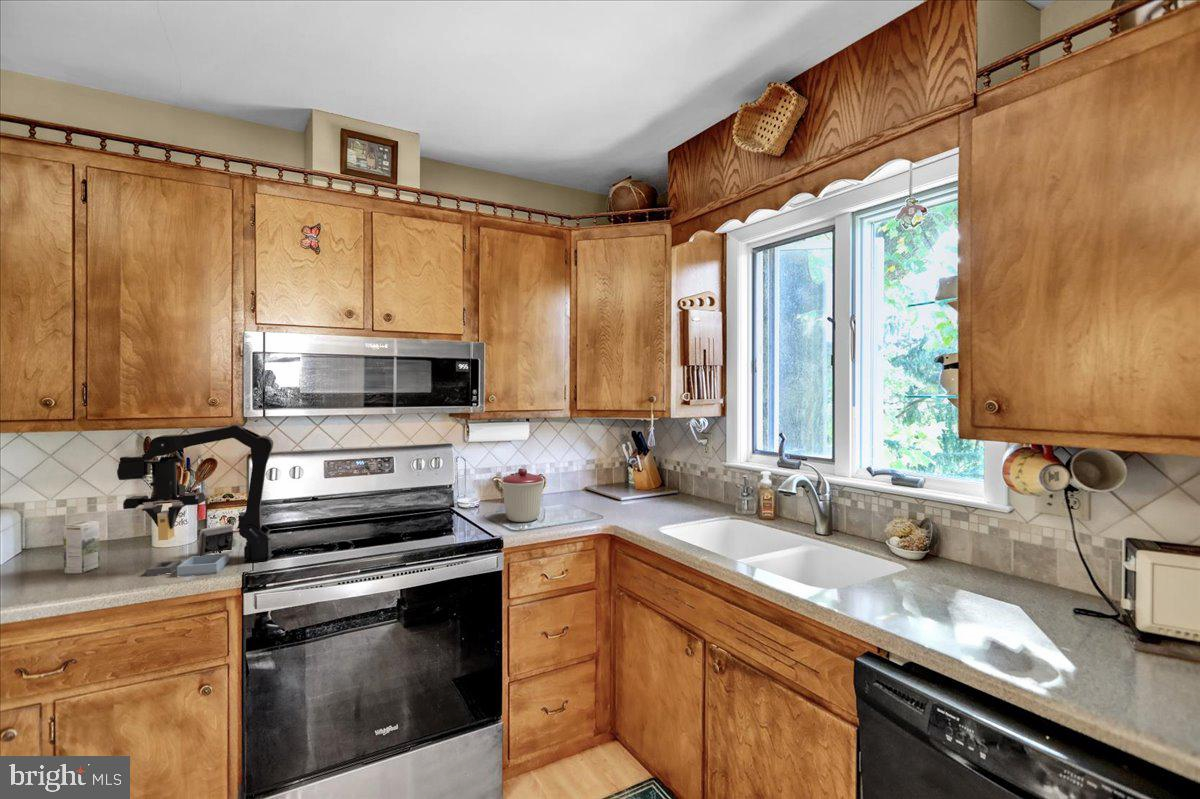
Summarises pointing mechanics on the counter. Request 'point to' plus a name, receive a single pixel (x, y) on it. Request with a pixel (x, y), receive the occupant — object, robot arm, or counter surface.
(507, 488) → the canister
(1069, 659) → the counter surface
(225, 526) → the electrical switch
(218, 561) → the parts tray
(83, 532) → the syrup box
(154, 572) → the block
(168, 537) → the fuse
